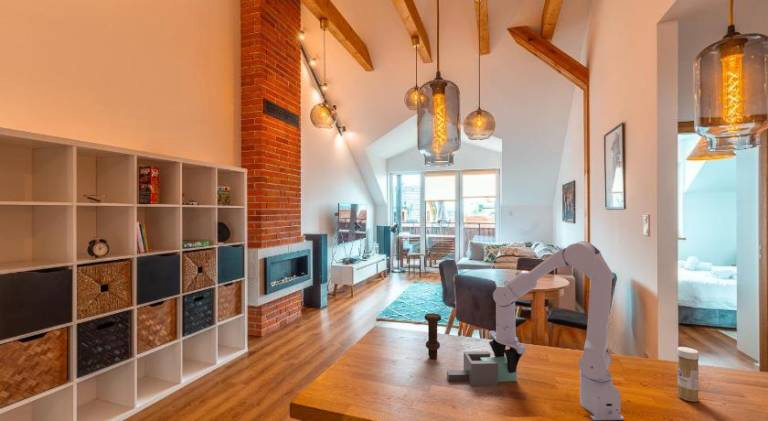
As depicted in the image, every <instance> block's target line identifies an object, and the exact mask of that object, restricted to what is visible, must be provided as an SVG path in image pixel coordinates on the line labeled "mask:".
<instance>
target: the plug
mask: <svg viewBox="0 0 768 421" xmlns="http://www.w3.org/2000/svg"><path fill="white" fill-rule="evenodd" d="M480 361H497V363H498V383H499V382H502V383H503V382H517V380H518V379H517V378H518V377H517V374H518V370H517V368H516V372H514V373H509V372H508V364H507V358H506V356H504V357H495V356H490V357H483V358H480Z"/></svg>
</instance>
